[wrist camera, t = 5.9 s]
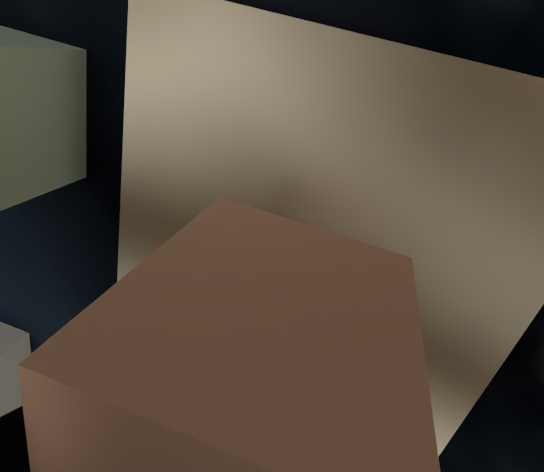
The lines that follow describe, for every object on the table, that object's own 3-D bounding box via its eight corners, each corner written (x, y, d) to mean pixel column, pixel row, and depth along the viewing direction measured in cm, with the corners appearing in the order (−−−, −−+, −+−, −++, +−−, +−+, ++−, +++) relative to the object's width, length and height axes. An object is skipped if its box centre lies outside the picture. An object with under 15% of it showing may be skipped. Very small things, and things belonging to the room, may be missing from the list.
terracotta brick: (314, 470, 11) (265, 759, 6) (182, 416, 11) (51, 647, 7) (411, 257, 7) (449, 543, 3) (220, 196, 8) (16, 365, 4)
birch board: (405, 475, 15) (407, 502, 14) (127, 365, 16) (113, 382, 16) (646, 105, 8) (677, 110, 8) (151, -16, 10) (129, -24, 9)
